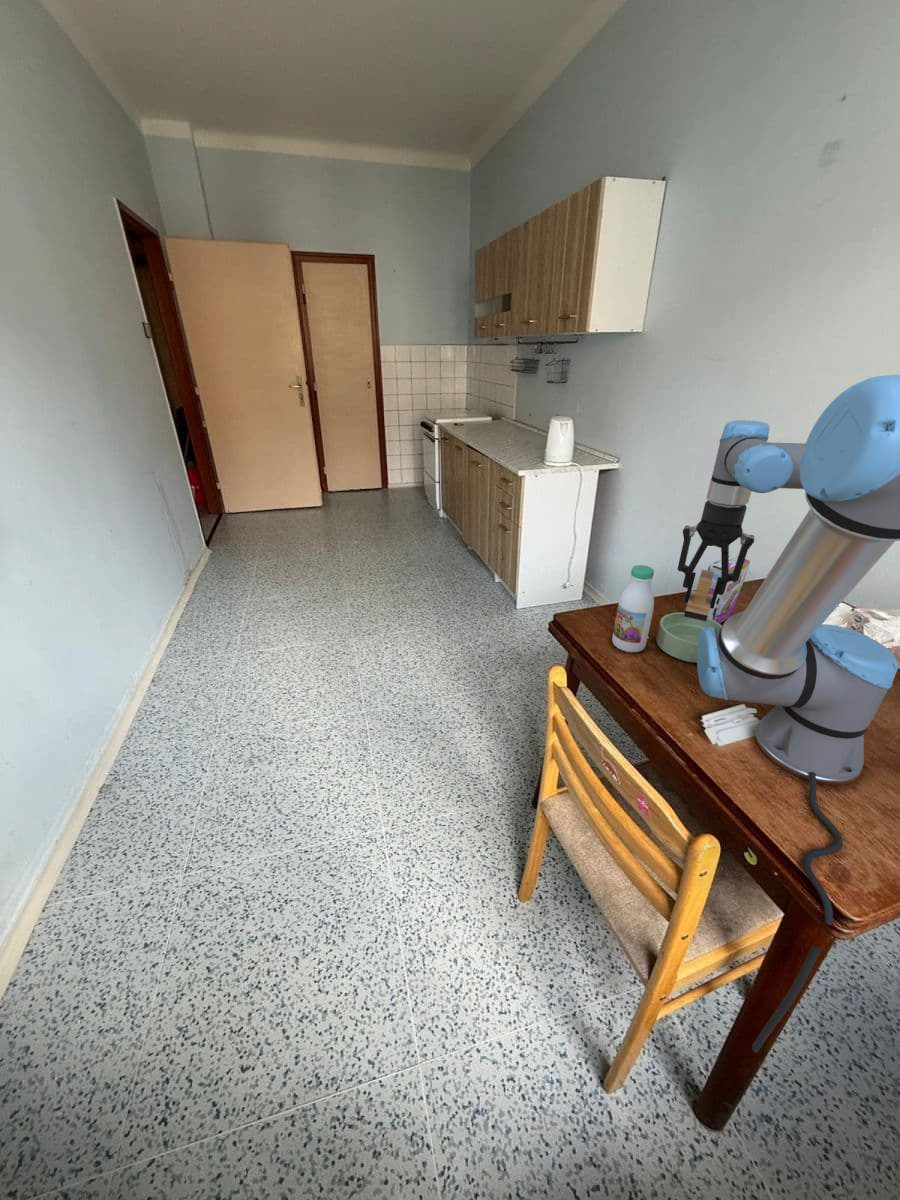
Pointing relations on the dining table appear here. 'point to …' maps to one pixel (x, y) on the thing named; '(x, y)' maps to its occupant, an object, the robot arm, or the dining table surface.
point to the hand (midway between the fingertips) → (699, 602)
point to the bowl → (681, 635)
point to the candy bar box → (726, 590)
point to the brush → (700, 598)
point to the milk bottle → (634, 611)
